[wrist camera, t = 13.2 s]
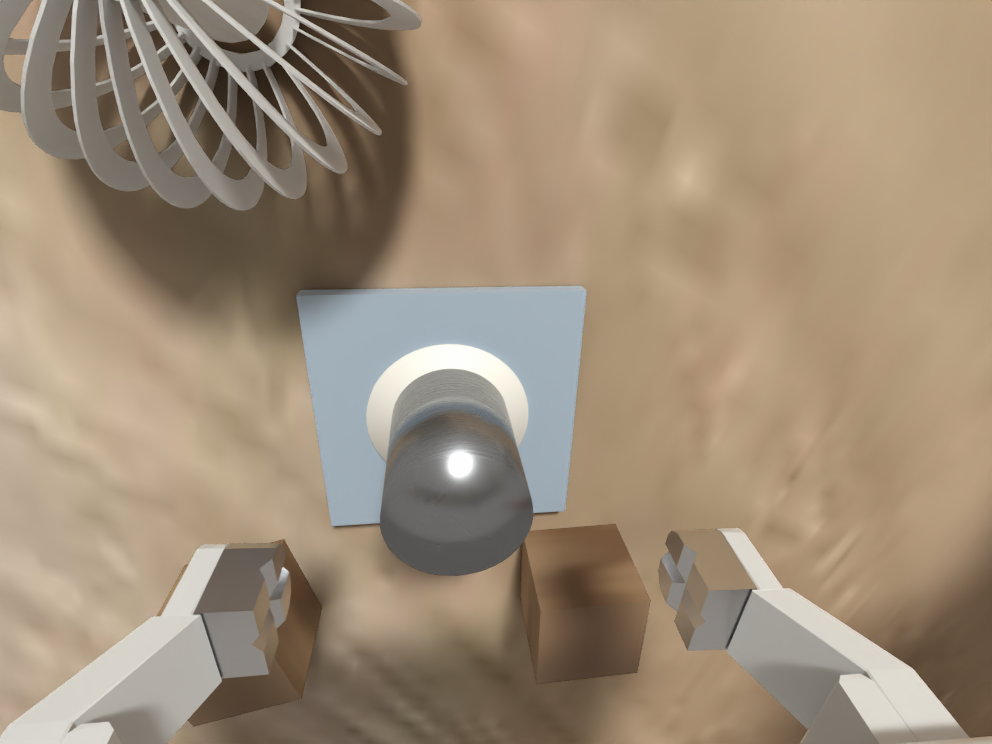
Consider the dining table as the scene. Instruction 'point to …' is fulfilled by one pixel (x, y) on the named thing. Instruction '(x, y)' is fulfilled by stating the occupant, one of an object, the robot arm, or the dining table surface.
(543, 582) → the walnut cube
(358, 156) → the dining table surface
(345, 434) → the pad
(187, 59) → the pendant light
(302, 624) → the walnut cube
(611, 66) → the dining table surface
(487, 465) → the metal cylinder
